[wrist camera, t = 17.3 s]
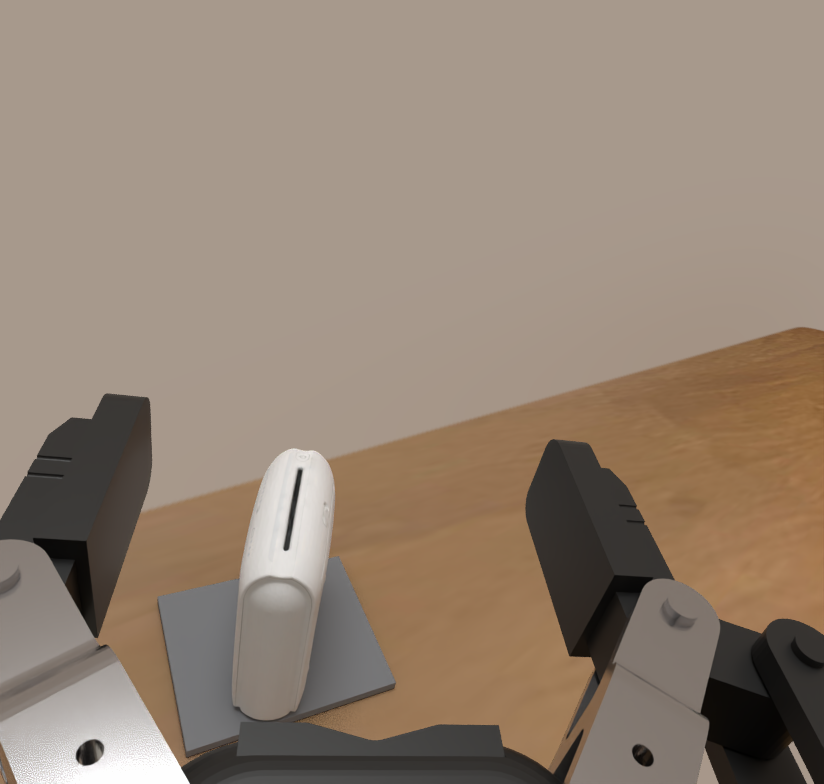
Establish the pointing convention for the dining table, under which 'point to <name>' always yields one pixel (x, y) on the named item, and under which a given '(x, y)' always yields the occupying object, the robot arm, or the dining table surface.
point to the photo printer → (282, 584)
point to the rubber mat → (214, 650)
